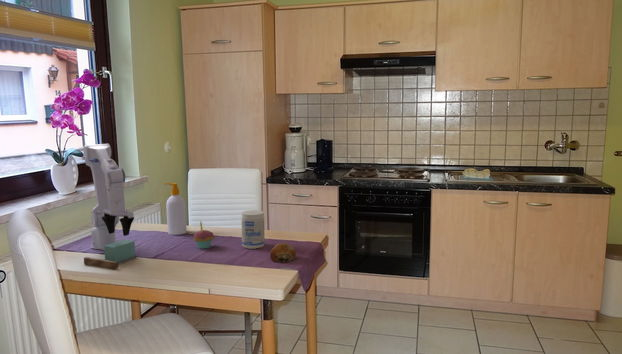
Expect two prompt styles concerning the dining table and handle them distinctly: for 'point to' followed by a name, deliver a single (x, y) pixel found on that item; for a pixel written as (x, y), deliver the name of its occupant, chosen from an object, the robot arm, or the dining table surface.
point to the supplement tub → (253, 229)
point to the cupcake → (203, 238)
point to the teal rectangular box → (119, 250)
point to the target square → (125, 260)
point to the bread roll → (282, 253)
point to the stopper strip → (101, 263)
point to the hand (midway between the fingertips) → (119, 234)
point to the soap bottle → (176, 212)
